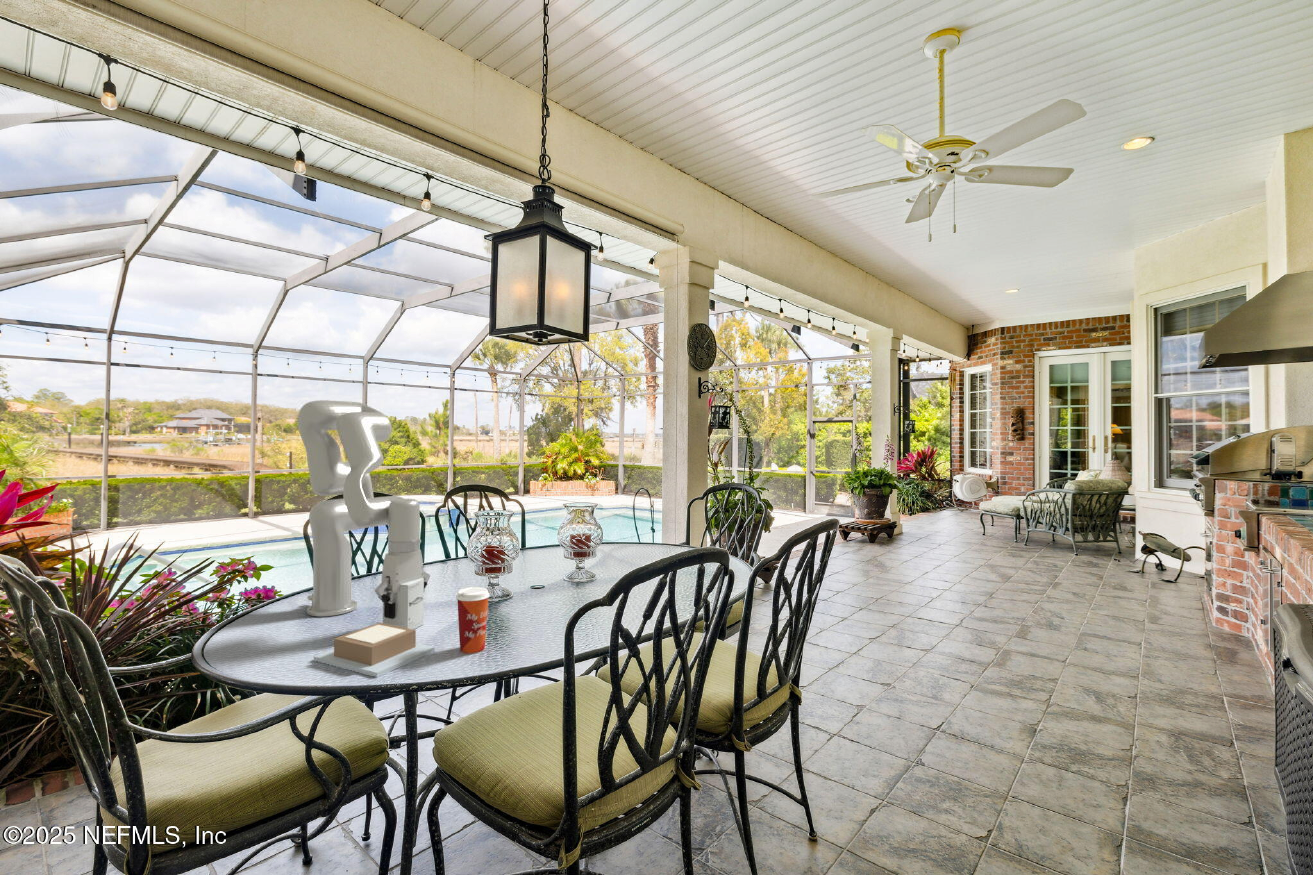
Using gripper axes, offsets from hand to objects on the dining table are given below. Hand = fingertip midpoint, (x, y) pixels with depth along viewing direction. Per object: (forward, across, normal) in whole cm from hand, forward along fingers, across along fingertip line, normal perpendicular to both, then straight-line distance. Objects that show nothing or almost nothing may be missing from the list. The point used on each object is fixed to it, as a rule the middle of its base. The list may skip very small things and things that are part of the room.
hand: (403, 612), depth 151 cm
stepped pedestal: (+4, +16, +9) cm, 19 cm away
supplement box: (+4, 0, 0) cm, 4 cm away
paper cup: (+4, +3, +26) cm, 26 cm away
